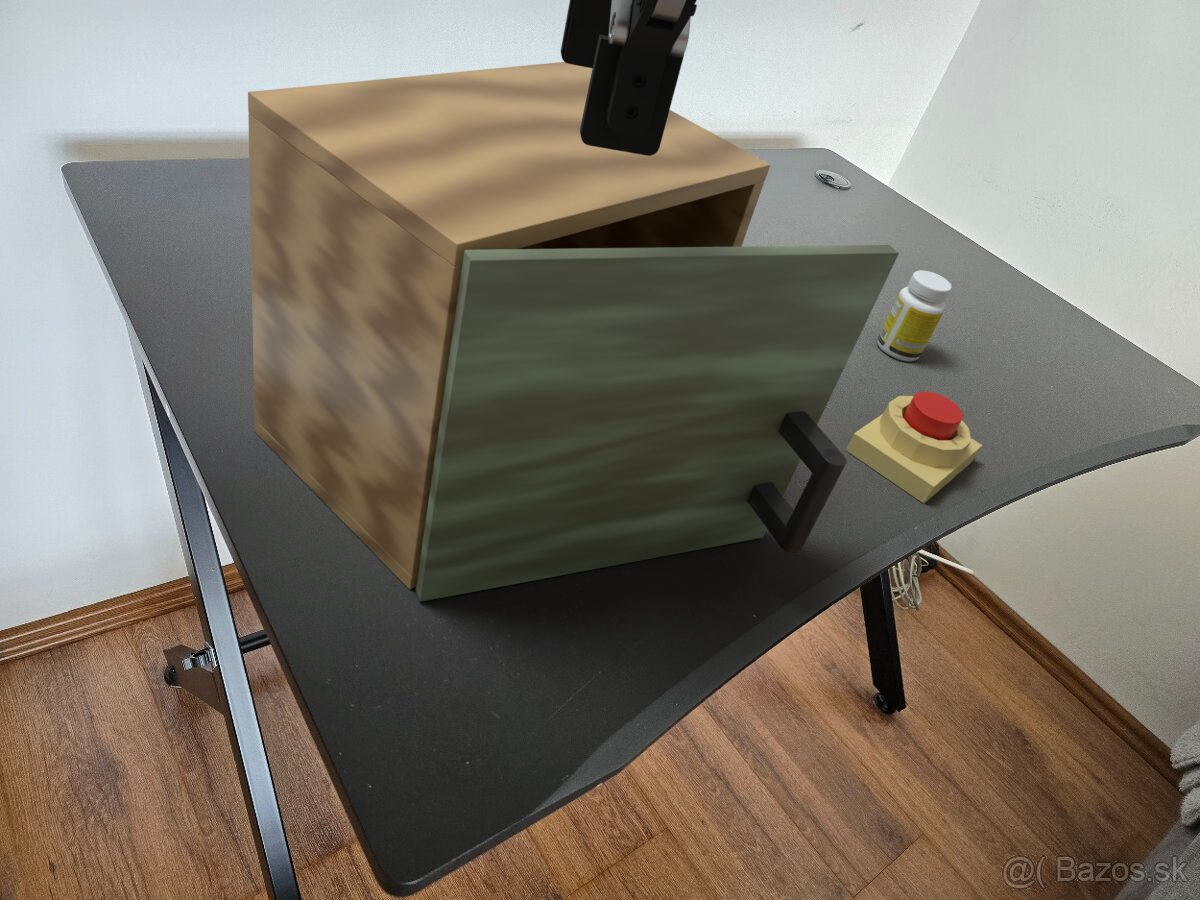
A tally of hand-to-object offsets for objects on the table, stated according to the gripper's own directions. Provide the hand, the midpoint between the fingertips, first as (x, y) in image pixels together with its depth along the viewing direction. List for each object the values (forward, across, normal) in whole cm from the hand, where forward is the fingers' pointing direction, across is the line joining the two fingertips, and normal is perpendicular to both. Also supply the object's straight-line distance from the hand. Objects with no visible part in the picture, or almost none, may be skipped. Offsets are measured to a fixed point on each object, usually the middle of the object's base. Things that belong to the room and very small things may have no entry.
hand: (603, 103), depth 40 cm
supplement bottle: (+32, +36, -43) cm, 64 cm away
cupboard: (+31, +14, +1) cm, 34 cm away
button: (+28, +18, -37) cm, 50 cm away
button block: (+32, +18, -37) cm, 52 cm away
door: (+31, 0, -8) cm, 32 cm away
